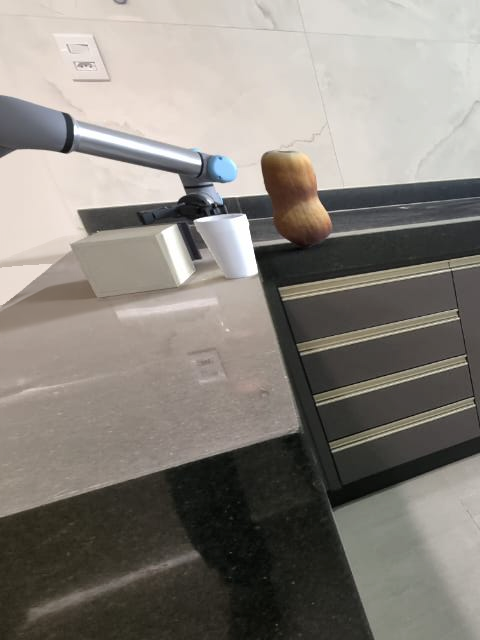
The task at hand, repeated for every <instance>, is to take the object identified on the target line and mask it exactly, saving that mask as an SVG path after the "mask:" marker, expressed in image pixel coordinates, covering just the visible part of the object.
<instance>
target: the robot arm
mask: <svg viewBox="0 0 480 640" xmlns="http://www.w3.org/2000/svg"><path fill="white" fill-rule="evenodd" d="M18 150H19V151H20V150H33V151H36V150H37V151H48V152H55V153H59V154H65V155H68V154H71V153H73V152H74V153H80V154H84V155H88V156H94V157H97V158H103V159H106V160H111V161H117V162H120V163H126V164H130V165H134V166H139V167H144V168H149V169H154V170H157V171H162V172H166V173H171V174H177V175H178V177H179V179H180V182H181V184H182V187H183V189H184V193H185V195H183V196H181V197H179V198H178V200H177V203H176V204H173V205H168V207H167V206H164V205H163V206H160V207H158V208H157V207H156V208H152V209H148V210H147V209H146V210H143V211H137V212H135V215H136V216H137V219H138V221H139V222H140V223H141V224H142V226H143V225H153V224H154V223H155V222H156V221H160V220H164V219H165V220H166V219H171V218H173V219H182V218H185V219H187V220H189V221H192V222H193V221H194V220H196V219H199V218H204V217H209V216H216V215H224V214H229V211H228V209H227V206H226V204H223V203H224V201H223V198H222V196H221V194H219V193H218V192H217V190H216V188H215V186H214V183H218V184H227V183H231V182H234V181H235V180H236V179H237V177H238V173H239V171H238V168H237V167H238V166H237V165H236V163H235V162H234V161H233V160H232V159H230V158H228V157H227V156H224V155H219V154H214V155H213V154H208V153H206V152H202V151H201V150H200V149H198V148H186V147H183V146H178V145H176V144H175V145H174V144H170V143H167V142H162V141H159V140H156V139H151V138H147V137H143V136H140V135H136V134H133V133H132V134H131V133H129V132H125V131H121V130H117V129H112V128H109V127H105V126H101V125H97V124H93V123H89V122H86V121H82V120H79V119H78V120H77V119H75V118H74V117H73V116H72V115H71V114H70V113H68V112H64V111H61V110H57V109H54V108H51V107H47V106H44V105H40V104H38V103H37V104H36V103H33V102H30V101H27V100H24V99H21V98H18V97H14V96H10V95H3V94H0V159H2V158H4V157H5V156H7V155H9V154H12V153H14V152H15V151H18Z"/></svg>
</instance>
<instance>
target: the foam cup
mask: <svg viewBox="0 0 480 640" xmlns="http://www.w3.org/2000/svg"><path fill="white" fill-rule="evenodd" d="M192 222H193V224H194V227H195V229H196V232H197V233H198V234H199V235H200V237H201V239H202V240H203V242H204V243H205V246H206V248H207V249H208V250H209V252H210V254H211V256H212V258H213V259H214V261H215V262H216V264H217V266H218V268H219V270H220V271H221V273H222V275H223V276H224V278H225V279H231V280H232V279H242V278H246V277H252V276H255V275H256V274H258V266H257V261H256V256H255V252H254V246H253V242H252V237H251V232H250V223H249V220H248V218H247V215H246V213H228V214H220V215H215V216H209V217H204V218H199V219H196V220H194V221H192Z"/></svg>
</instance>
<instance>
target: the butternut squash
mask: <svg viewBox="0 0 480 640" xmlns="http://www.w3.org/2000/svg"><path fill="white" fill-rule="evenodd" d="M260 168H261V174H262V179H263V185H264V189H265V191H266V193H267V194H268V196H269V199H270V201H271V205H272V222H273V225H274V228H275V229H276V231H277V233H278V234H279V235H280V236H281V237H282V238H284V239H285V240H287V241H288V242H290V243H291V244H293V245H295V246H296V247H297V248H299V249H301V250H307V249H310V248H312V247H315V246H319V245H321V244H322V243H323V242H324V241H325V240H327V238H328V237H329V236H330V235H331V233H332V231H333V223H332V221H331V217H330V216H329V215H330V214H329V213H328V211H327V210H326V209H325V206H324V205H323V204H322V202H321V200H320V199H319V195H318V183H317V176H316V172H315V168H314V166H313V164H312V161H311V159H310V157H308V155H306V154H305V153H303V152H301V151H298V150H278V149H277V150H276V149H273V150H268V151H265V152H264V153H263V154H262V156H261V158H260Z"/></svg>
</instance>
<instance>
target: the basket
mask: <svg viewBox="0 0 480 640" xmlns="http://www.w3.org/2000/svg"><path fill="white" fill-rule="evenodd" d="M167 224H177V226H178V228H179V231H180V233H181V236H182V238H183V240H184V243H185V245H186V248H187V250H188V252H189V255H190V257H191V259H192V262H193V263H194V261H199V260H202V259H203V257H202V253H201V252H200V249H199V247H198V244H197V242H196V240H195V237H194V234H193V231H192V230H191V226H190V224H189V222H188V221H187V220H185V221H175V222H168V223H167V222H164V223H155V224H154V223H153V224H149V225H143V224H142V225H135V226H125V227H121V228H120V229H127V228H137V227H147V226H157V225H167Z"/></svg>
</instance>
